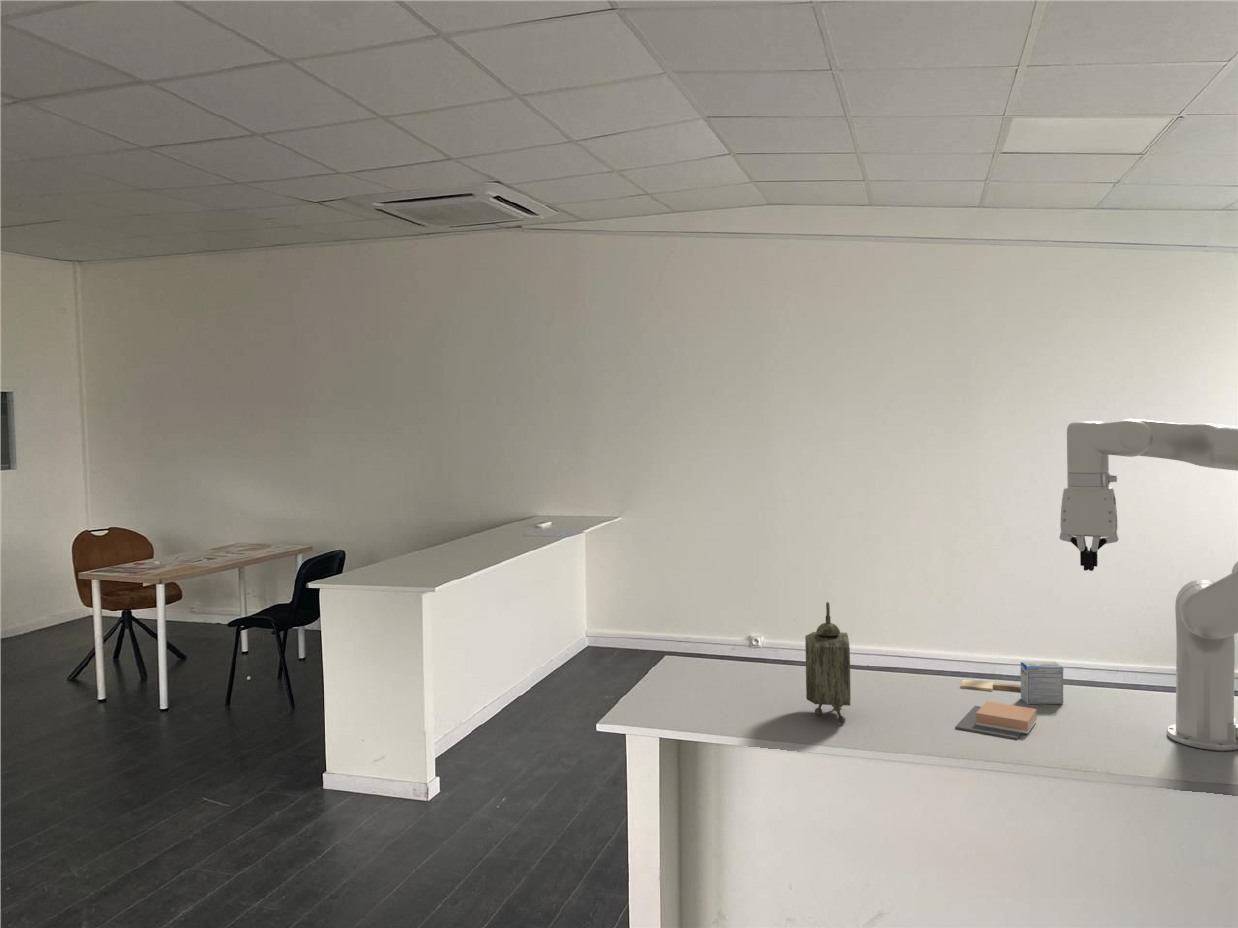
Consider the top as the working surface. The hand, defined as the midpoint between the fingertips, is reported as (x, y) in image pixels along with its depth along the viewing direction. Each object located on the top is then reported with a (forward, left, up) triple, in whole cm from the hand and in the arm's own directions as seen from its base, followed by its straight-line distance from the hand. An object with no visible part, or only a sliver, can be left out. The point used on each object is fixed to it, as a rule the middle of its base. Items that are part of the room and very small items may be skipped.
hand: (1089, 569), depth 181 cm
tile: (+9, +8, -31) cm, 33 cm away
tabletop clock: (+48, +22, -33) cm, 62 cm away
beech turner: (+22, -17, -33) cm, 43 cm away
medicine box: (+11, -12, -33) cm, 37 cm away
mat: (+17, +8, -33) cm, 38 cm away
